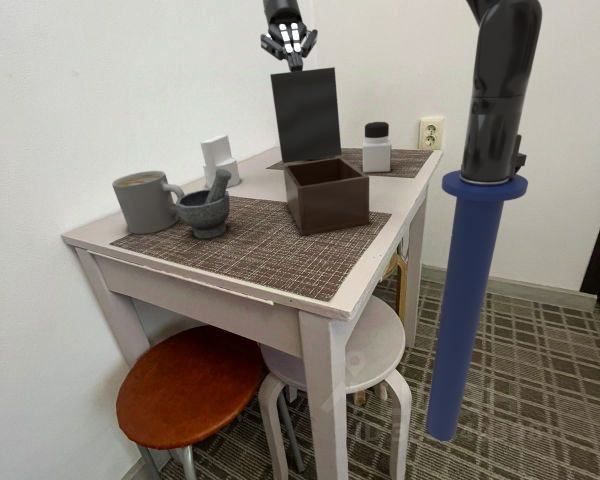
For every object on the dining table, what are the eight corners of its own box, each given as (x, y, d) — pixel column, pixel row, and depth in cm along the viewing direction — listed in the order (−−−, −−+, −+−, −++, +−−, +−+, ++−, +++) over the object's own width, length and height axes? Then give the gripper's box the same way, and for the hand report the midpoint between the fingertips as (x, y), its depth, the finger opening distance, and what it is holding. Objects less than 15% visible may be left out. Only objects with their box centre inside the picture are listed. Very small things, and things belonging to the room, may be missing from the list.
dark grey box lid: (334, 67, 63) (333, 67, 64) (270, 74, 62) (270, 74, 62) (341, 154, 69) (340, 154, 70) (282, 163, 67) (282, 163, 68)
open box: (369, 223, 60) (369, 176, 56) (302, 235, 58) (297, 188, 54) (342, 195, 74) (341, 156, 69) (287, 204, 72) (282, 165, 68)
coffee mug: (118, 232, 67) (100, 185, 63) (152, 212, 75) (138, 170, 71) (170, 237, 63) (154, 187, 58) (200, 216, 71) (189, 170, 66)
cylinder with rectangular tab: (218, 177, 96) (209, 135, 90) (245, 178, 93) (238, 134, 87) (200, 188, 89) (189, 143, 83) (229, 189, 86) (220, 142, 80)
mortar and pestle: (176, 243, 60) (156, 180, 55) (196, 221, 68) (181, 164, 63) (234, 241, 59) (220, 176, 53) (248, 219, 67) (237, 161, 61)
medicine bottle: (390, 171, 86) (392, 123, 80) (362, 173, 87) (362, 126, 81) (388, 164, 92) (390, 119, 86) (362, 165, 93) (362, 121, 87)
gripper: (250, -6, 68) (265, 59, 63) (312, -11, 70) (331, 52, 65) (252, 28, 75) (266, 88, 70) (308, 23, 77) (325, 81, 72)
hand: (297, 70), depth 67 cm, fingers closed
